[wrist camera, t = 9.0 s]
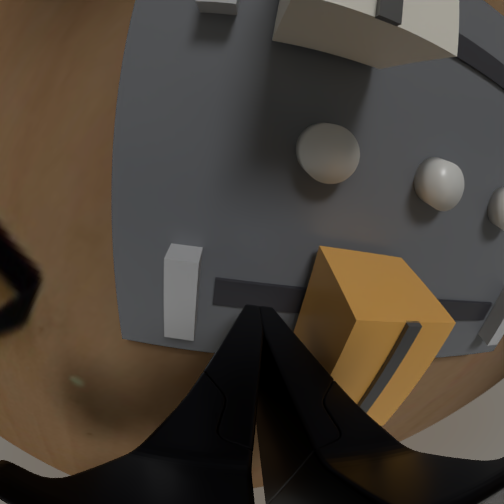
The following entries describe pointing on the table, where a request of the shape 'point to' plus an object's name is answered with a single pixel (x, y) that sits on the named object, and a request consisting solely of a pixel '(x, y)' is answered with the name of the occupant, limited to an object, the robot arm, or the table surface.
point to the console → (299, 171)
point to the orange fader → (371, 326)
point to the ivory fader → (372, 29)
